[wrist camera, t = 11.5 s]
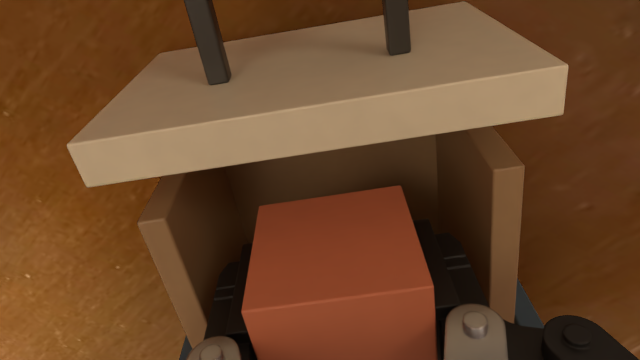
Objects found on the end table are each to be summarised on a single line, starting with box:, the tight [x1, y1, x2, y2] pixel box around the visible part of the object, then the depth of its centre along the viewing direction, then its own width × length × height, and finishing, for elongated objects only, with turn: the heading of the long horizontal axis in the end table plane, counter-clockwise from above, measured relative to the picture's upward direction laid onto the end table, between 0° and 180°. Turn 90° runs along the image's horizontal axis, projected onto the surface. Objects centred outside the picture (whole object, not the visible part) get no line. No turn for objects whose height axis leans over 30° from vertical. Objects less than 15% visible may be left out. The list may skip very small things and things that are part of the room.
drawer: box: [67, 0, 568, 349], centre depth 16 cm, size 18×11×8 cm, turn 9°
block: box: [241, 185, 438, 360], centre depth 13 cm, size 4×4×4 cm
